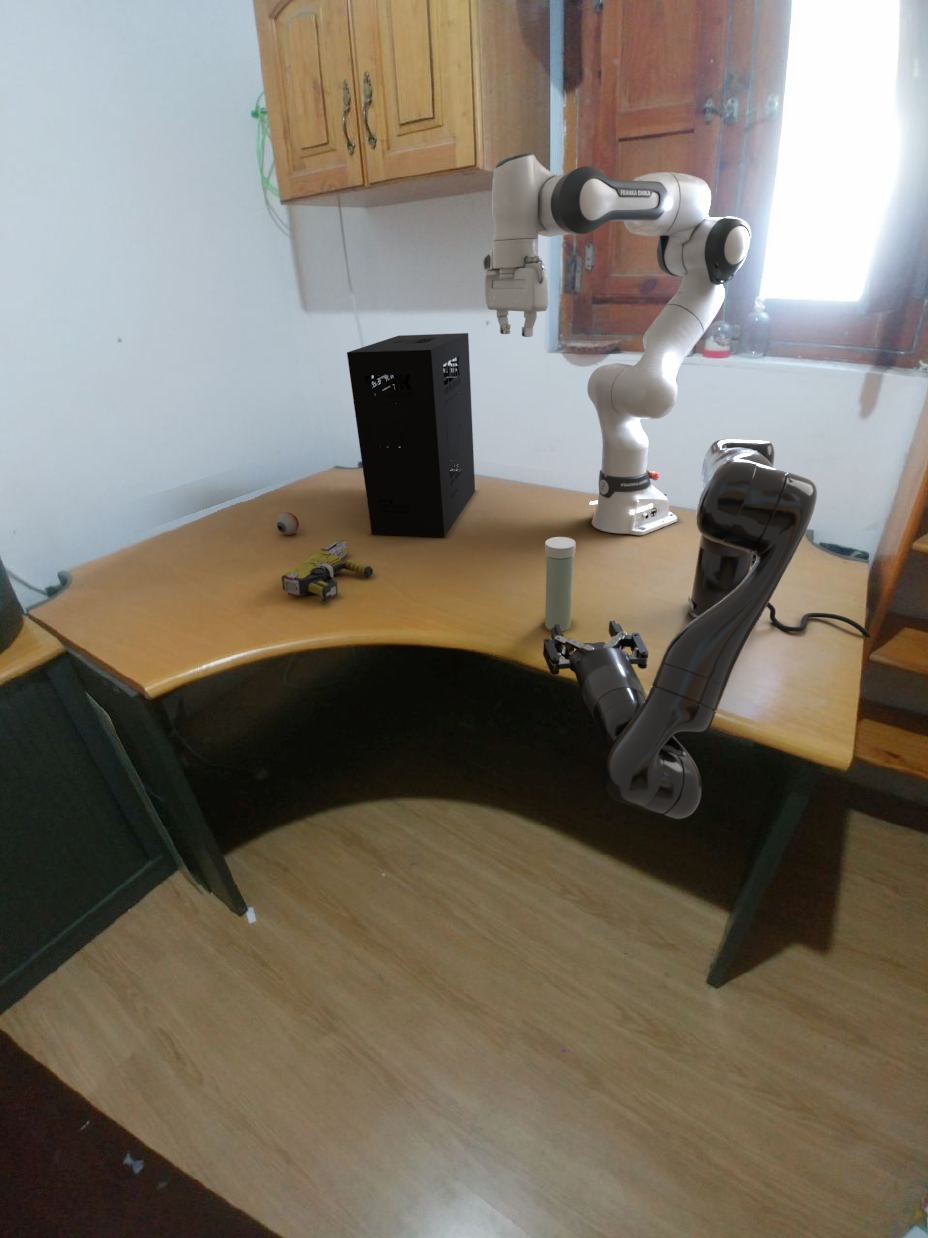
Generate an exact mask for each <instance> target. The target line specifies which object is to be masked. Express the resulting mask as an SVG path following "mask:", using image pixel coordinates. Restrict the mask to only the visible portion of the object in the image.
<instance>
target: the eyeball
mask: <svg viewBox="0 0 928 1238" xmlns="http://www.w3.org/2000/svg"><path fill="white" fill-rule="evenodd" d="M299 525H300V522H299V519H298V517H297V516H296V515H295V514H294V513H292V512H287V511H286V512H282V513H280V514H279V515H278V516H277V517H276V520H275V527H276V529H277V530H278V531H279V532H280V533H281V534H282V535H285V536H286V535H287V536H289V535H293V534H295V533H296V532H297V531H298V529H299Z"/></svg>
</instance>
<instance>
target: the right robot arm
mask: <svg viewBox="0 0 928 1238" xmlns="http://www.w3.org/2000/svg"><path fill="white" fill-rule="evenodd" d="M774 463H775V447H774V445H773V443H772V442H770V441H768V440H758V439H757V440H755V439H753V440H751V439H732V438H731V439H729V438H725V439H719V440H715V441H714V442H712V443H711V444H710V445H709V447H708V449H707V451H706V452H705V455H704V458H703V462H702V469H701V480H702V491H701V493H700V496H699V500H698V503H697V507H696V511H695V525H696V527H697V531H698V532H699V533H700V539H699V544H698V550H697V551H698V553H697V557H696V565H695V571H694V576H693V583H692V590H691V596H688V599H687V601H688V603H689V607H688V614H689V615H690V616H691V617H692V619H693V620H691V621H690V622H689V623H688V624H686V625H685V626H683V628H682V629H681V630H679V632H678V633H676V635H675V636H674V638H673V639H672V640H671V641H670V643H669V644H668V646H667V648H666V650H665V652H664V654H663V656H662V659H661V662H660V664H659V666H658V669H657V671H656V674H655V676H654V679H653V681H652V683H651V687H650V689H649V691H648V694H646V691H645V688H644V686H643V684H642V682H641V680H640V678H639V676H638V674H637V673H636V671H635V669H634V667H633V665H637V667H638V669H640V670H645V669H647V668H648V661H649V650H648V648H647V646H646V643H645V641H644V639H643V638H642V636H641V634H640V633H639V632H632V633H631V634H628V633H627V632H626V631H624V629H623V628H622V626H621V624H619V623H617V622H616V620H609V623H608V634H609V636H610V639H609V640H608V641H607V642H604V641H598V642H582V641H579V640H577V639H575V638H570V639H569V638H567V637H565V636H564V634H563V631H562V630H561V627H560V625H559V624H555V625H554V627H553V628H551V630H550V638H548V637H545V638H543V640H542V641H543V643H542V644H543V647H542V649H543V651H542V655H543V658H544V660H545V662H546V666H547V668H548V670H549V673H550V674H551V675H554V676H555V675H556V676H557V675H559V674H560V670H567V669H569V670H570V671H571V672H573V674H574V675H575V678H576V682H577V684H578V686H579V689H580V692H581V695H582V699H583V702H584V705H585V706H586V708H587V710H588V712H589V714H590V715H591V717H592V719H593V721H594V724H595V727H596V729H597V732H598V734H599V737H600V739H601V741H602V743H603V745H604V747H605V748H606V749H607V752H606V754H605V756H604V759H603V762H602V766H601V781H602V786H603V788H604V789H603V790H605V793H606V795H607V796H609V798H610V799H612V800H613V801H615V802H617V803H619V804H622V805H624V806H627V807H629V808H633V809H636V810H638V811H640V812H644V813H647V814H649V815H652V816H654V817H656V818H657V817H658V818H660V819H663V820H667V821H682V820H685V819H687V818H688V817H690V816H692V815H693V814H694V813H695V812H696V811H697V809H698V808H699V805H700V802H701V801H702V796H703V781H702V776H701V772H700V770H699V768H698V765H697V764H696V762H695V760H694V758H693V757H692V756H691V754H690V753H689V752H688V751H687V749H686V748H685V747H684V746H683V744H681V742H679V740H678V739H677V738H676V737H675V735H677V734H684V735H692V736H700V735H704V734H705V733H706V732H707V731H708V730H709V729H710V727H711V725H712V723H713V721H714V718H715V716H716V713H717V711H718V708H719V706H720V703H721V701H722V698H723V695H724V694H725V690H726V689H727V686H728V683H729V681H730V679H731V675H732V673H733V670H734V669H735V666H736V664H737V661H738V659H739V657H740V655H741V653H742V652H743V650H744V647H745V646H746V643H747V641H748V640H749V638H750V636H751V634H752V633H753V630H754V629H755V627H756V626H757V624H758V622H759V620H760V618H761V616H762V615H763V613H764V612H765V610H766V608H768V610H769V619H770V621H771V623H773V625H774V626H776V627H777V628H779V629H780V630H783V631H787V632H794V633H795V632H801V631H804V630H805V628H806V627H807V623H808V619H810V618H822V619H823V618H824V619H830V620H831V619H833V620H837V621H841V622H844V623H846V624H848V625H850V626H852V627H853V628H854V629H856V630H858V631H859V632H860V633H861V635H863V636H864V637H865V638H870V639H871V638H872V635H871V634H870V633H869V631H868V630H867V629H865V627H863V626H862V625H860V623H858V622H856V621H855V620H852V619H851V618H849V617H846V616H842V615H839V614H834V613H828V612H827V613H826V612H808V613H805V614H804V615H803V616H802V618H801V621H800V625H798V626H789V625H785V624H783V623H782V622H780V621H779V620H778V619H777V618H776V608H775V606H774V605H773V604H772V603H770V600H771V598H772V597H773V595H774V593H775V591H776V589H777V587H778V585H779V584H780V582H781V580H782V578H783V576H784V574H785V572H786V570H787V568H788V567H789V565H790V563H791V561H792V559H793V558H794V555H795V553H796V551H797V550H798V548H799V545H800V544H801V542H802V540H803V538H804V535H805V534H806V531H807V529H808V527H809V526H810V525H809V524H810V522H811V520H812V518H813V514H814V511H815V508H816V503H817V498H818V489H817V486H816V484H815V483H814V482H813V481H812V480H811V479H809V478H806V477H804V476H801V475H799V474H795V473H793V472H789V471H785V470H782V469H778V468H775V467H774V465H775V464H774ZM753 555H755V556H756V560H755V562H754V561H752V557H753ZM752 562H753V564H752ZM626 648H630V651H631V654H629V653H628V652H626V651H625V649H626Z"/></svg>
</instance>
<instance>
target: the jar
mask: <svg viewBox="0 0 928 1238" xmlns="http://www.w3.org/2000/svg"><path fill="white" fill-rule="evenodd" d="M545 558H546V559H545V560H546V561H545V562H546V563H545V567H546V568H545V614H544V615H545V617H544V618H545V619H544V625H545V627H546V629H547V630H550V631H551V628H553V627H554V625H555V624H559V625H560V627H561V630H562V632H565V631H567V630H569V629H570V628H571V622H572V602H573V601H572V599H573V598H572V597H573V579H574V577H573V576H574V574H573V573H574V555H573V556H572V557H570V558H565V559H556V558H551V557H549V556H547V555H546V557H545Z"/></svg>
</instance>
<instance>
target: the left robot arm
mask: <svg viewBox="0 0 928 1238" xmlns="http://www.w3.org/2000/svg"><path fill="white" fill-rule="evenodd" d="M711 200H712V194H711V189H710V186H709V185H708V183H707V182H706V181H705V180H704V179H703V178H701V177H698V176H695V175H692V174H689V173H682V172H675V171H673V172H672V171H660V172H659V171H658V172H651V173H646V174H641V175H640V176H637V177H635V178H633V179H632V180H624V179H623V180H621V179H613V178H610V177H609V176H607V175H606V174H604V173H603V172H601V171H600V170H599V169H596V168H594V167H592V166H585V165H584V166H579V167H577V168H575V169H573V170H569V171H568V172H566V173H565V172H564V173H562V174H559V175H558V174H556V173H554V172H552V171H551V170H549V169H547V168H546V167H545V166H543V165H542V163H540V161H539V160H538V159H537V157H536V156H535V153H531V152H525V153H520V154H517V155H513V156H509V157H507V158H504V159H501V160H500V161H499V162H497V164H496V165H495V167H494V170H493V174H492V183H491V216H492V220H493V227H494V228H493V235H492V248H491V249H490V250H489V252H488V253H487V254H486V255H485V256H484V257H483V258H482V269H483V271H485V273H484V297H485V304H486V306H487V307H486V308H487V309H488V310H492V311H496V318H497V321H498V323H499V324H498V325H499V333H500V335H510V334H511V324H509V318H508V316H509V312H523V318H524V323H523V326H522V327H521V336H522V337H523V338H531V337H533V335H534V326H535V324H536V320H537V318H538V316H537V315H538V314H537V313H540V312H546V311H547V310H548V308H549V307H548V306H549V303H550V297H549V296H550V295H549V279H548V278H549V277H548V273H547V269H546V268H545V263H544V262H543V260H542V258H541V256H539V236H542V237H546V238H547V237H549V238H550V237H557V236H558V237H560V236H566V235H567V236H568V235H585V234H586V235H587V234H589V233H592V232H594V231H595V230H597V229H598V228H600V227H602V226H603V225H605V224H606V223H608V222H623V224H624V226H625V227H626V230H628V232H629V233H631V234H634V235H639V236H645V237H658V242H657V248H656V259H657V264H658V267H659V269H660V270H661V271H662V272H663V273H664V274H666V275H669V276H672V277H682V279H681V283H680V285H679V287H678V289H677V291H676V292H675V294H674V295H673V296H672V297H671V298H670V300H669V301H668V302H667V303H666V305H665V306H664V307H663V308H662V310H661V311H660V313H659V314H658V315H657V316H656V318H655V319H654V320H653V322H652V323H651V324H650V326H649V327H647V330H646V331H645V332H644V335H643V337H642V345H643V350H644V351H643V353H642V356H641V358H640V359H639V360H638V361H637V363H635V364H625V363H619V362H615V363H614V362H613V363H607V364H604V365H601V366H597V368H595V369H594V371H593V372H591V374H590V376H589V378H588V380H587V395H588V398H589V399H590V401H591V402H592V404H593V406H594V408H595V411H596V414H597V417H598V418H597V419H598V421H599V427H600V432H601V440H602V447H601V448H602V449H601V450H602V451H601V468H600V470H599V474H598V492H599V493H598V498H597V500H594V501H590V502H589V505H596V507H595V511H594V514H593V517H592V520H591V525H592V526H593V527H594V528H595V529H597V530H599V531H601V532H605V533H611V534H623V535H625V534H626V535H632V536H633V535H634V536H645V535H646V534H650V533H652V532H654V531H657V530H660V529H662V528H665V527H668V526H670V525H672V524H675V523H677V522H678V516H677V515H676V514H675V513H674V512H672V511H670V503H669V502H670V501H669V498H668V497H667V494H666V493H663V492H661V491H660V490H659V489H658V488H656V487H655V486H654V485H652V483H651V480H653V481H658V479H659V478H660V473H659V472H657V471H654V470H651V471H649V470H648V469H647V466H648V458H649V457H648V455H649V446H650V441H649V437H648V435H647V434H646V432H645V431H644V429H643V427H642V424H641V420H656V419H662V418H664V417H666V416H667V415H669V413H670V412H671V411H672V410H673V408H674V406H675V405H676V402H677V399H678V395H679V389H678V388H679V387H678V383H677V377H678V373H679V371H680V368H681V366H682V365H683V363H684V361H685V359H686V358H687V357H688V355H689V354H690V353H691V352H692V350H693V348H694V347H695V346H696V345H697V343H698V342H699V340H701V338H702V337H703V336H704V335H705V333H706V331H707V330H708V328H709V327H710V325H711V324H712V322H713V321H714V319H715V318H716V316H717V315H718V313H719V311H720V309H721V307H722V305H723V303H724V300H725V288H724V285H725V284H727V283H729V282H730V281H732V280H733V279H734V278H735V275H736V274H737V271H738V270H739V269H740V268H741V267H742V265H743V263H744V262H745V260H746V258H747V256H748V254H749V252H750V249H751V243H752V231H751V228H750V225H749V224H748V223H747V222H746V221H745V220H743V219H741V218H738V217H736V216H724V217H710V215H709V210H710V207H711Z"/></svg>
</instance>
